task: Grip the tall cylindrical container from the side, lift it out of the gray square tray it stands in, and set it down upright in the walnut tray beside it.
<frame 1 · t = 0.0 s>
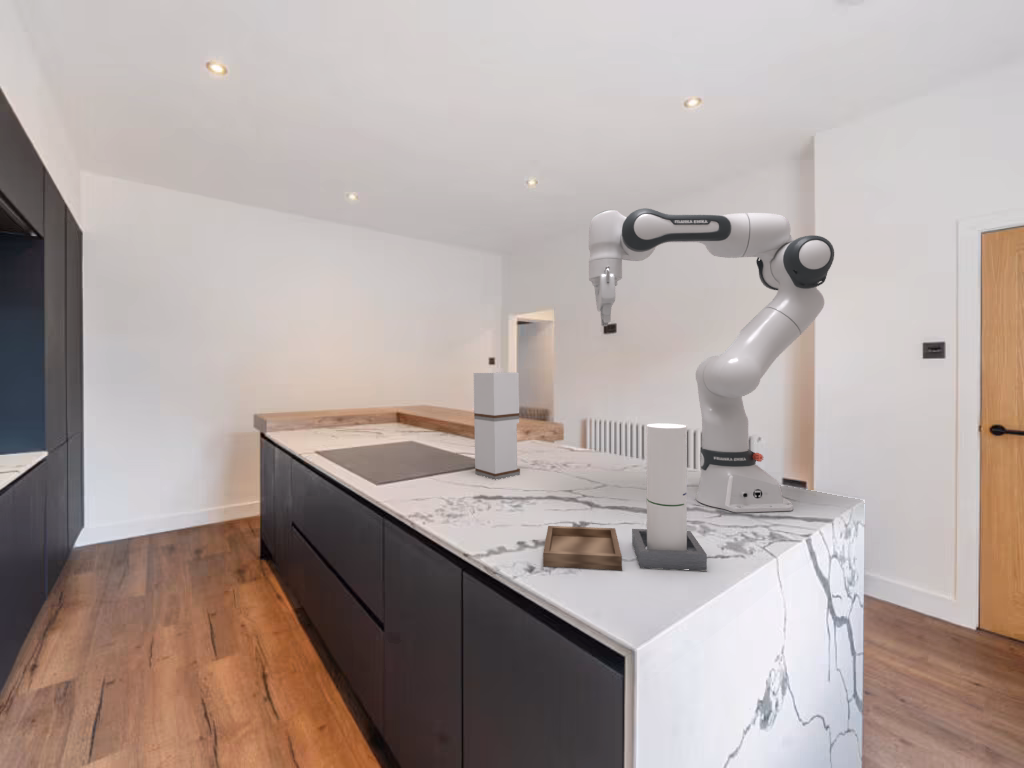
hand: (605, 324, 120), 48 cm above the table, tool pointing down, fingers open, 8 cm apart
gray square tray: (666, 556, 84), on the table
banded white pillar: (497, 474, 152), on the table
cylindrical container: (666, 557, 84), resting in gray square tray
walnut tray: (581, 552, 87), on the table
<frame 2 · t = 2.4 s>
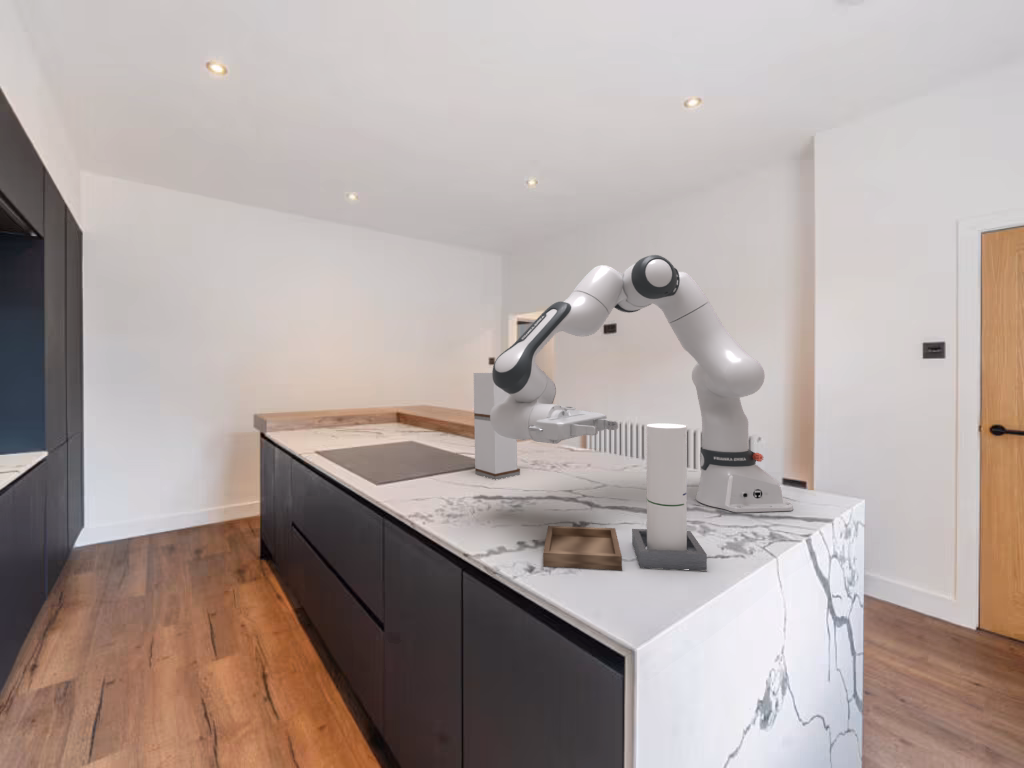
hand: (606, 428, 91), 24 cm above the table, tool horizontal, fingers open, 8 cm apart
nothing on the table moved.
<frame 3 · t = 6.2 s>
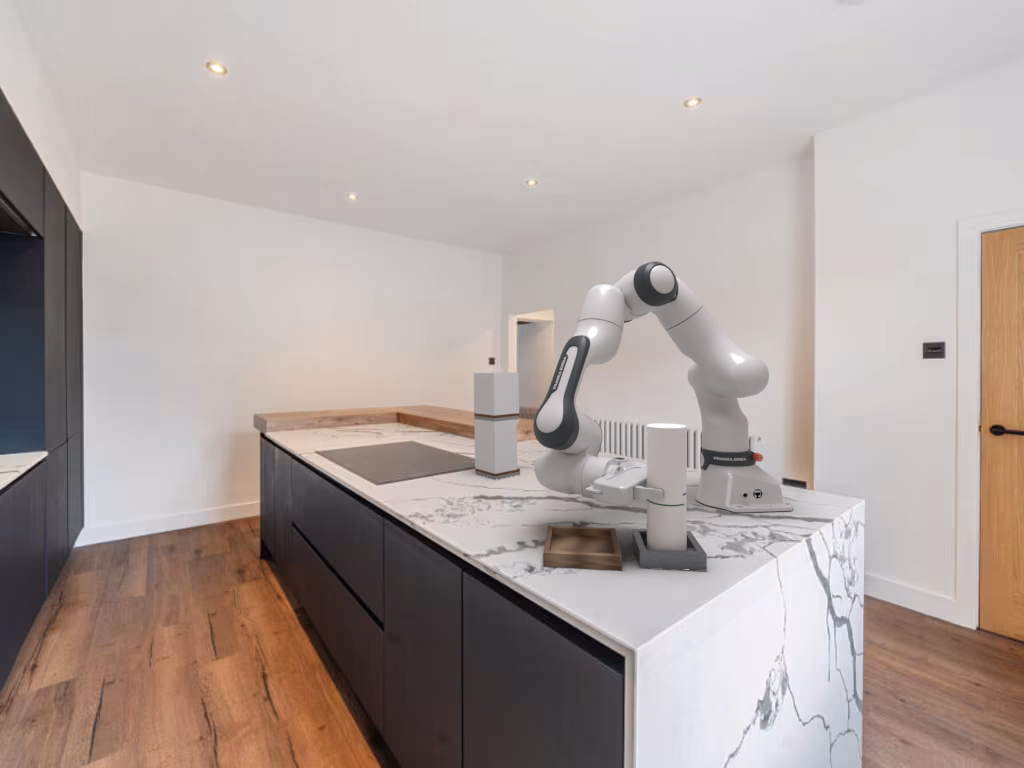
hand: (671, 489, 83), 13 cm above the table, tool horizontal, fingers closed on cylindrical container, 7 cm apart
cylindrical container: (666, 557, 84), resting in gray square tray, touching gripper
everything else where it was.
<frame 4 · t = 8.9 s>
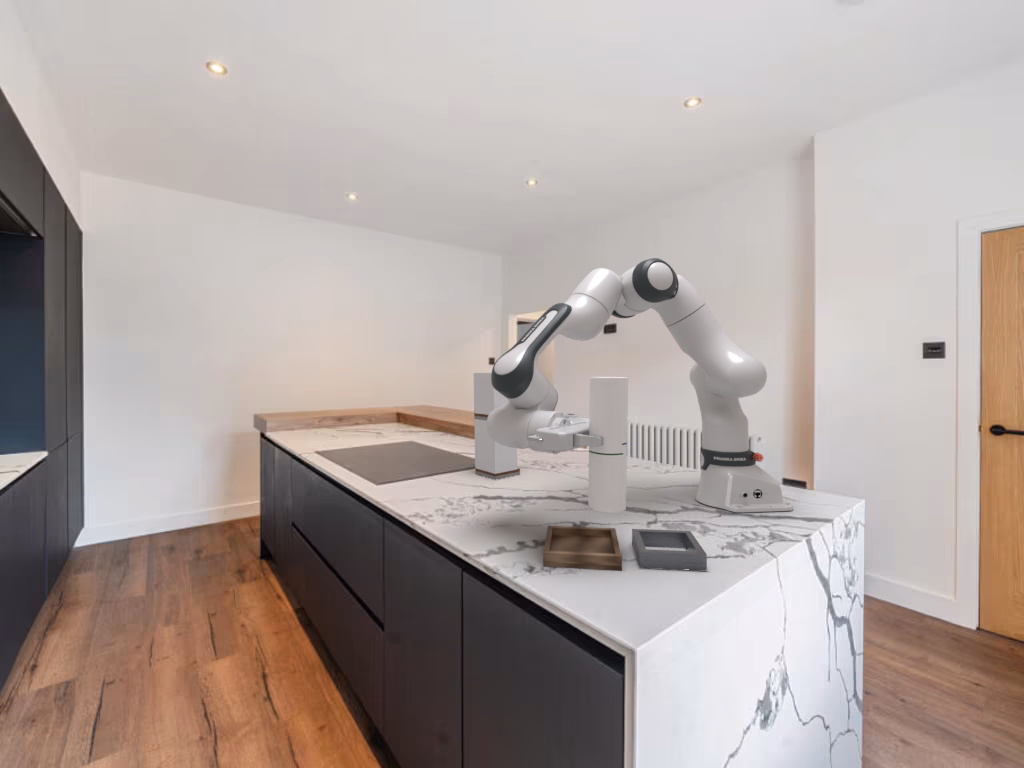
hand: (612, 438, 84), 23 cm above the table, tool horizontal, fingers closed on cylindrical container, 7 cm apart
cylindrical container: (606, 507, 85), point 9 cm above the table, touching gripper
everything else where it was.
when the fingers open (15 cm above the table, at t = 11.5 s): cylindrical container drops 1 cm, resting on walnut tray.
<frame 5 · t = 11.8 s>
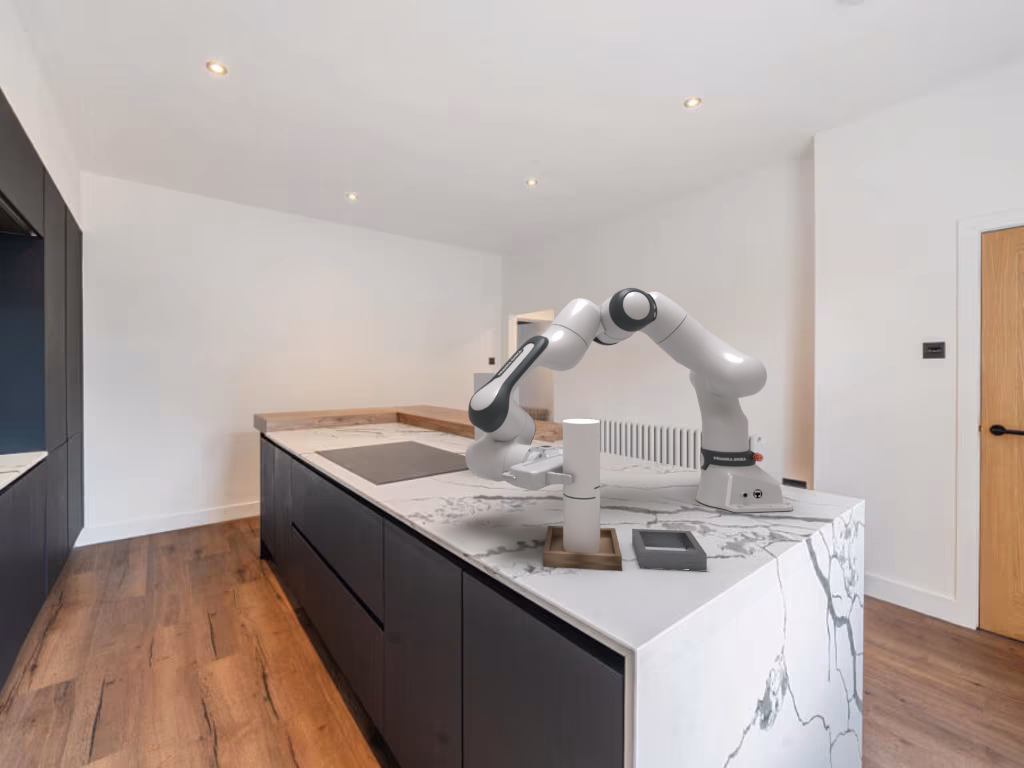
hand: (585, 474, 86), 15 cm above the table, tool horizontal, fingers open, 8 cm apart
cylindrical container: (581, 548, 87), point 1 cm above the table, touching walnut tray
everything else where it was.
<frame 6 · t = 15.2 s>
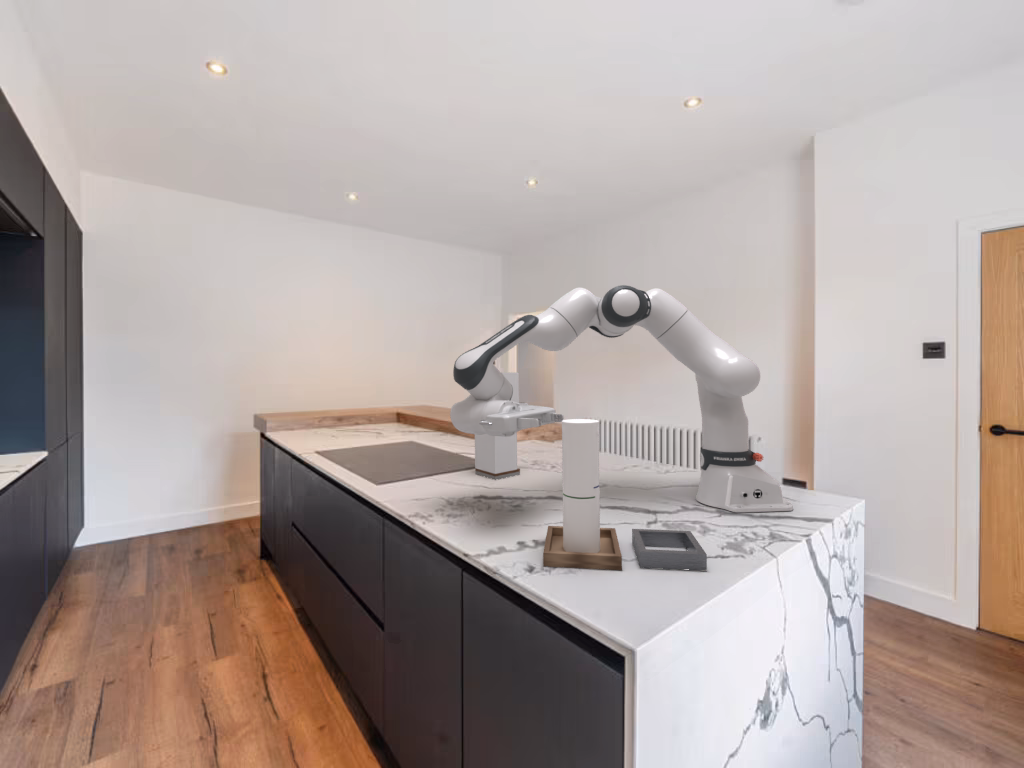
hand: (551, 420, 100), 24 cm above the table, tool horizontal, fingers open, 8 cm apart
nothing on the table moved.
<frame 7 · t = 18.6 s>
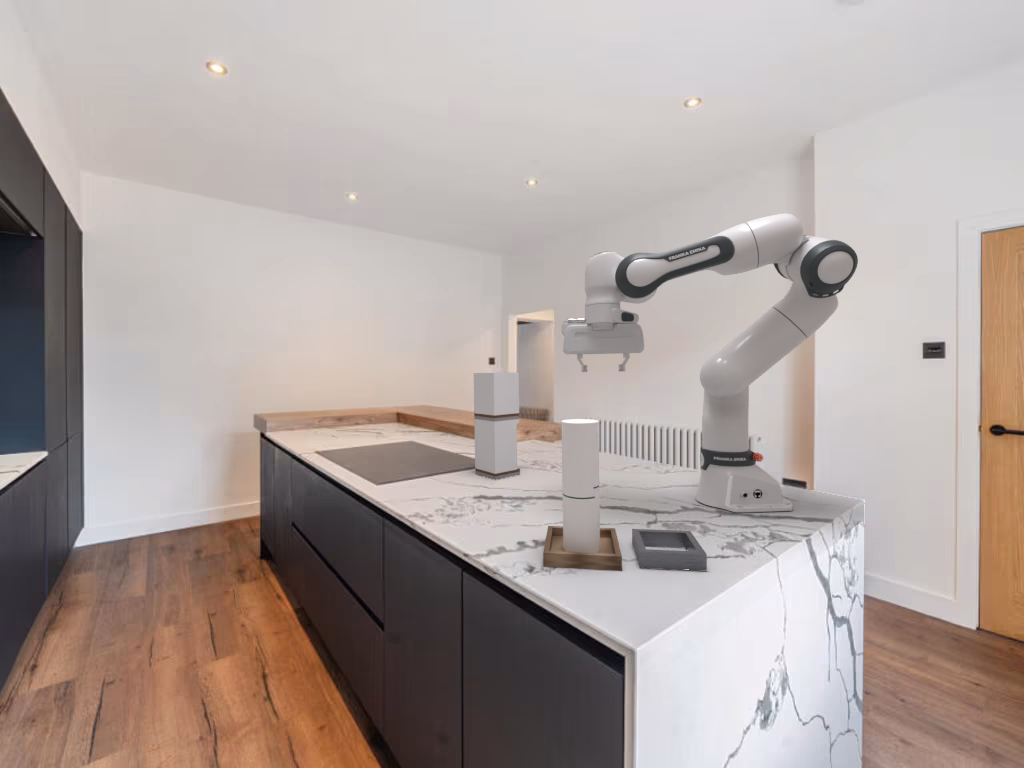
hand: (603, 371, 113), 35 cm above the table, tool pointing down, fingers open, 8 cm apart
nothing on the table moved.
at the end: cylindrical container inside the target area on the walnut tray (0.1 cm from its centre), point 0.6 cm above the walnut tray's base; cylindrical container tilted 0°; the gripper is holding nothing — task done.
